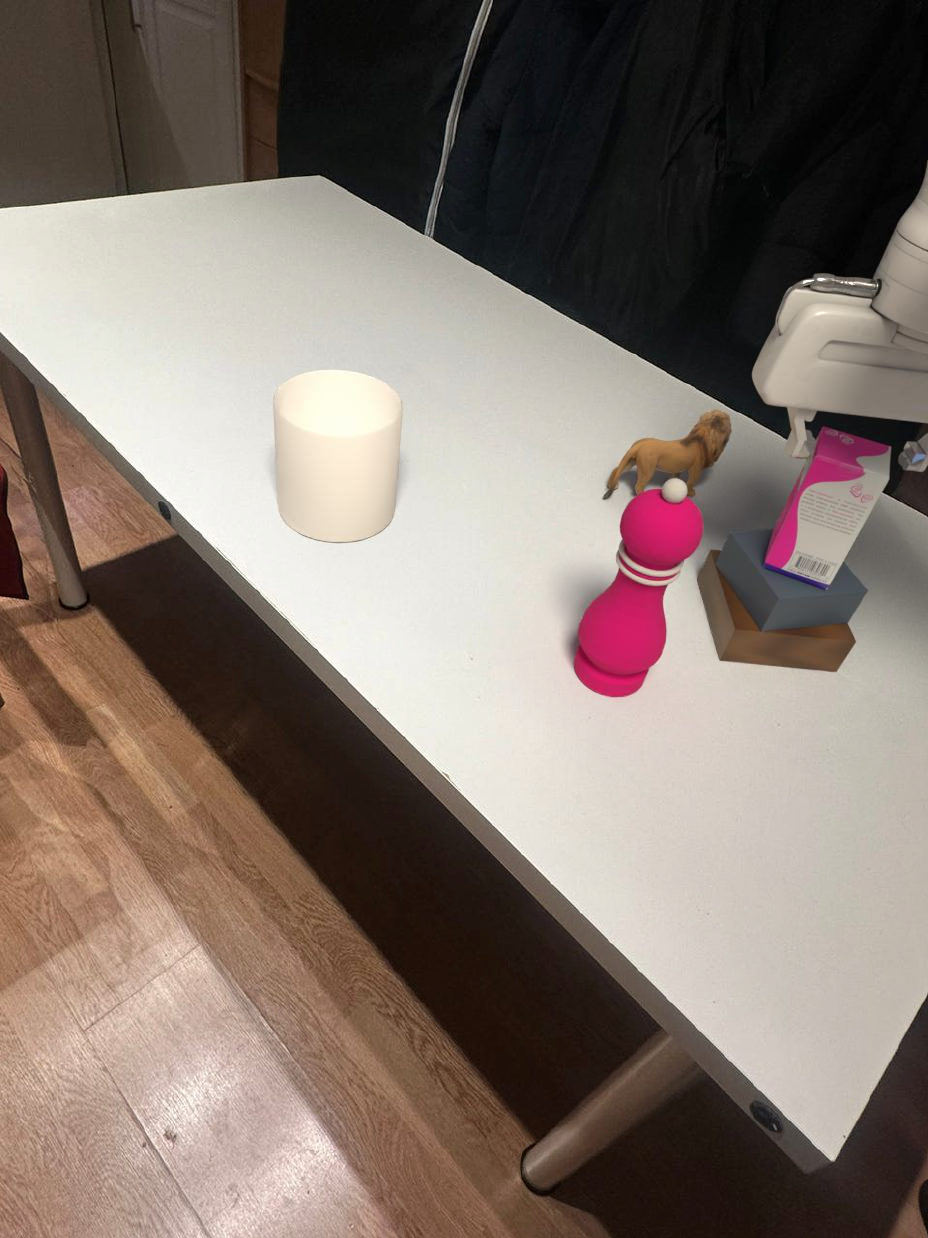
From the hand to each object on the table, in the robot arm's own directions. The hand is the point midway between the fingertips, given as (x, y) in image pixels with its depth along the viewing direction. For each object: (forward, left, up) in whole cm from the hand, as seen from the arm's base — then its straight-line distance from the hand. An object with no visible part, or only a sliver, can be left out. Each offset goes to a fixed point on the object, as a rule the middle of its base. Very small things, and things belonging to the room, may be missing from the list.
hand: (852, 460), depth 65 cm
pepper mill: (+16, +8, -19) cm, 26 cm away
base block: (0, 0, -19) cm, 19 cm away
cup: (+42, -11, -19) cm, 47 cm away
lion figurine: (+7, -21, -19) cm, 29 cm away
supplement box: (0, 0, -11) cm, 11 cm away
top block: (0, 0, -15) cm, 15 cm away
